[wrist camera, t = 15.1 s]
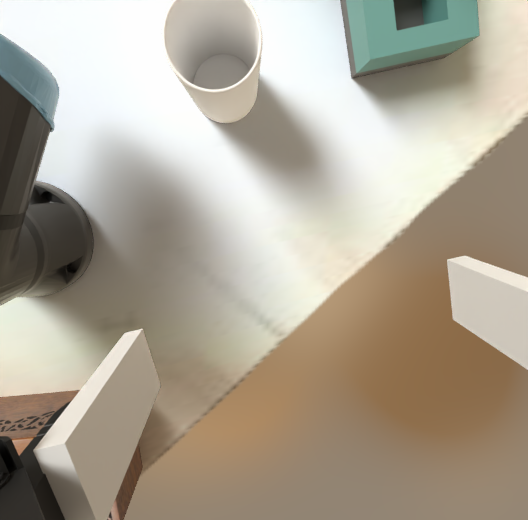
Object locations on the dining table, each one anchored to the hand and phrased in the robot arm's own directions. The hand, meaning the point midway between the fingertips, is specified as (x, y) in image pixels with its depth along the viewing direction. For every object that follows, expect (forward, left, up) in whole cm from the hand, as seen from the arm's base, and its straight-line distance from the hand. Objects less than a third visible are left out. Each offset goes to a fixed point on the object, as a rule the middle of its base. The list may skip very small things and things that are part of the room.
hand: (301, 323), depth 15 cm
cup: (-1, +18, -35) cm, 39 cm away
